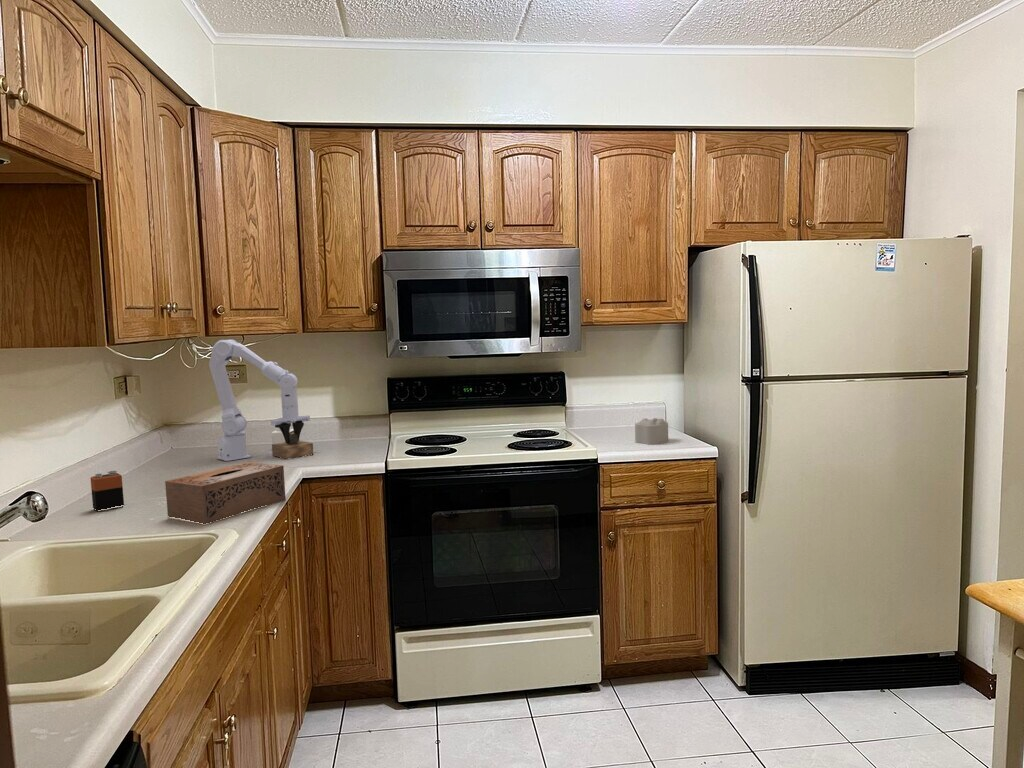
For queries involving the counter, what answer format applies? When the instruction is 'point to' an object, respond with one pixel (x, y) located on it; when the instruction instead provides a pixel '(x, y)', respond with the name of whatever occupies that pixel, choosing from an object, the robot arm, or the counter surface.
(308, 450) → the cover
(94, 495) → the battery
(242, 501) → the tissue box cover
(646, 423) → the lumpy-topped squat cylinder
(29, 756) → the counter surface
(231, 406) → the robot arm
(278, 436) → the medicine bottle
